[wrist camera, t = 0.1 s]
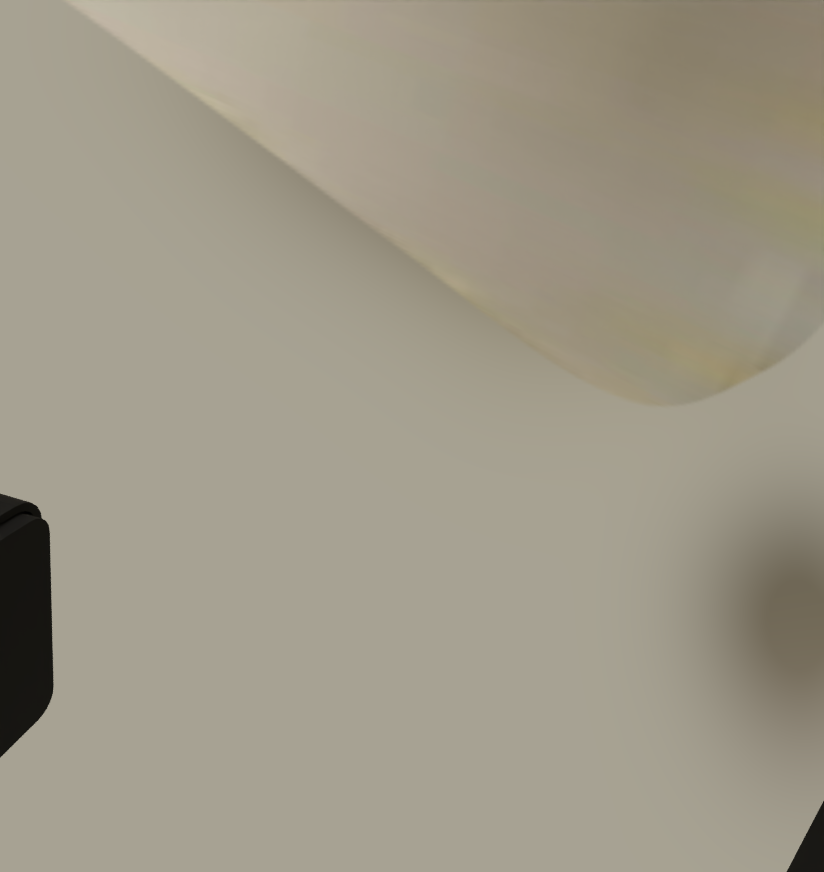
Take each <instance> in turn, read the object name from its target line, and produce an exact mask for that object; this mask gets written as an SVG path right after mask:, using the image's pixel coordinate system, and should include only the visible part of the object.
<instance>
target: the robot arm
mask: <svg viewBox="0 0 824 872" xmlns="http://www.w3.org/2000/svg"><path fill="white" fill-rule="evenodd" d="M50 571H51V568H50V533H49V525H48V524H47V522H46V521H45V520H43V519H42V518H41V513H40V511H39V509H38V507H37V506H36V505H34V504H32V503H30V502H27V501H23V500H20V499H16V498H13V497H10V496H6V495H3V494H0V757H1V756H2V755H3V754H4V753H5V752H6V751H7V750H8V749H9V748H10V747H11V746H12V745H13V744H14V743H15V742H16V741H17V740H18V739H19V738H20V737H21V736H22V735H23V734H24V733H25V732H26V731H27V730H28V729H29V728H30V727H32V726H33V725H34V724H35V722H37V721H38V720H39V718H40V717H41V716H42V715H43V713H44V712H45V710H46V709H47V707H48V705H49V703H50V700H51V697H52V694H53V653H52V652H53V651H52V611H51V610H52V609H51V572H50ZM787 872H824V801H823V804H822V805H821V807H820V809H819V811H818V813H817V815H816V817H815V819H814V821H813V823H812V824H811V826H810V828H809V830H808V832H807V834H806V836H805V838H804V840H803V842H802V844H801V845H800V847H799V849H798V851H797V853H796V855H795V857H794V859H793V861H792V863H791V865H790V866H789V869H788V870H787Z"/></svg>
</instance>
